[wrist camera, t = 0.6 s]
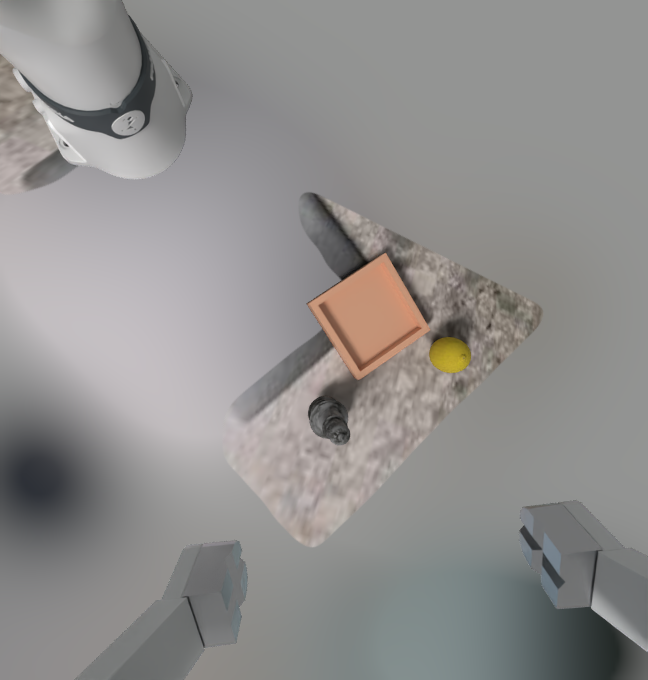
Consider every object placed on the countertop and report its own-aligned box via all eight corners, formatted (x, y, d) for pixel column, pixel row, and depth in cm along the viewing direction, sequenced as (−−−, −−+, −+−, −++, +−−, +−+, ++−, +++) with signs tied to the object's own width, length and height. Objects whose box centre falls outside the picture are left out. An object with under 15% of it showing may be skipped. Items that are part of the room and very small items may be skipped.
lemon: (433, 328, 59) (460, 332, 51) (457, 347, 60) (487, 352, 52) (414, 356, 59) (439, 364, 51) (439, 374, 60) (467, 384, 52)
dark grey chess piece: (315, 388, 56) (331, 410, 44) (348, 402, 57) (372, 426, 46) (300, 423, 56) (312, 453, 44) (333, 435, 57) (354, 468, 46)
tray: (306, 303, 55) (308, 303, 52) (380, 255, 56) (385, 252, 54) (353, 377, 57) (358, 380, 55) (423, 329, 59) (430, 329, 56)
